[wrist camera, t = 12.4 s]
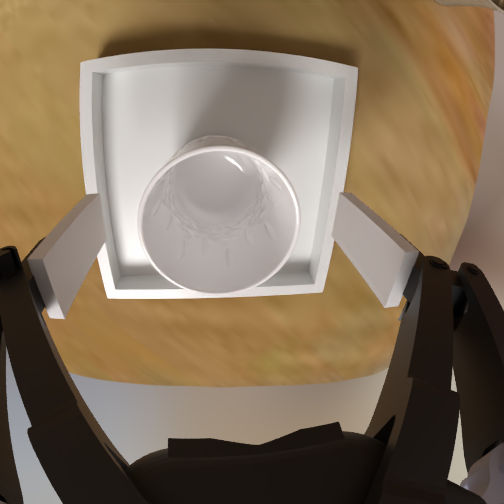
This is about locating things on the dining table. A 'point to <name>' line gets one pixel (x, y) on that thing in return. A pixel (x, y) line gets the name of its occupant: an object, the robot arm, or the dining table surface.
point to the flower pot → (475, 3)
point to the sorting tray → (207, 123)
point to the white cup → (218, 217)
